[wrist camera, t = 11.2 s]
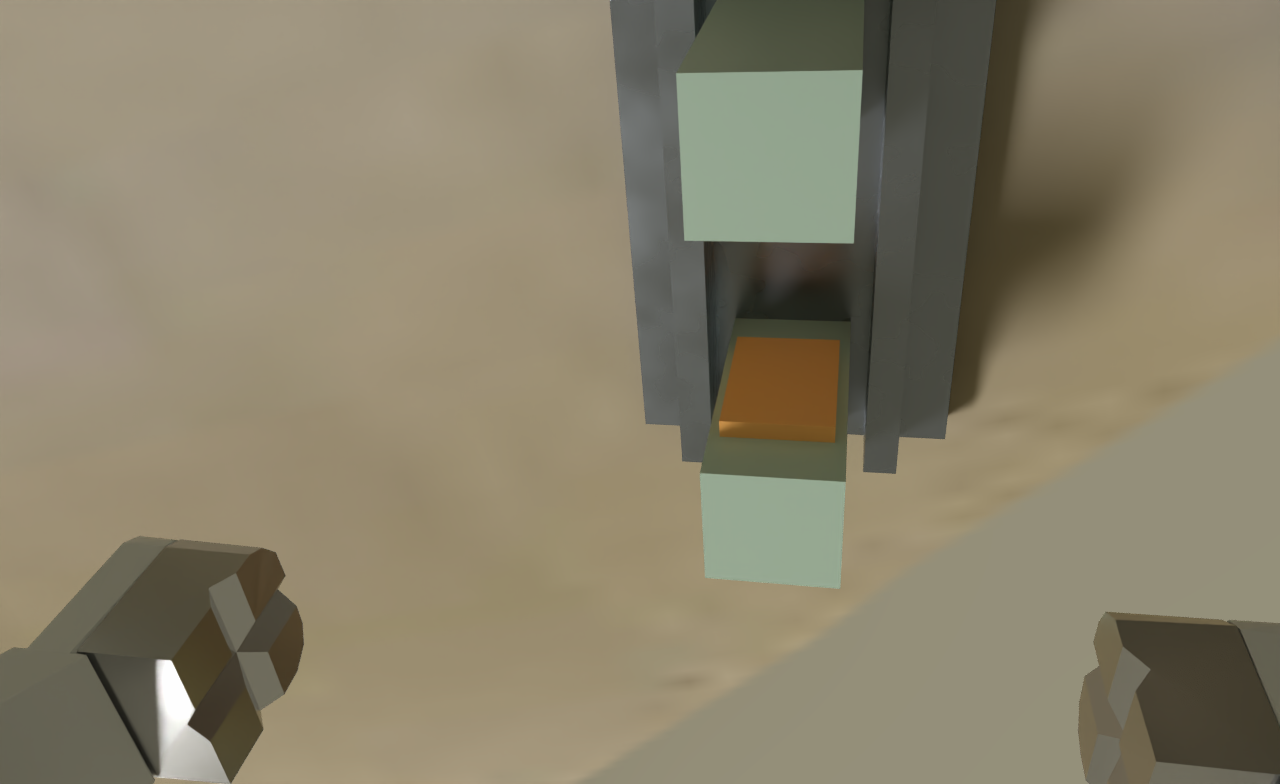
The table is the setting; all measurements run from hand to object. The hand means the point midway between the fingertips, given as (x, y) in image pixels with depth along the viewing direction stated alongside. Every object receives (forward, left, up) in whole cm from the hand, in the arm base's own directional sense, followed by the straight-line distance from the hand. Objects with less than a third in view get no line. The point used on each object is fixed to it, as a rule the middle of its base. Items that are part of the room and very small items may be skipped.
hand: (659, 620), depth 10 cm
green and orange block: (0, -10, -21) cm, 23 cm away
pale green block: (0, 0, -21) cm, 21 cm away
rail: (0, -5, -22) cm, 22 cm away
